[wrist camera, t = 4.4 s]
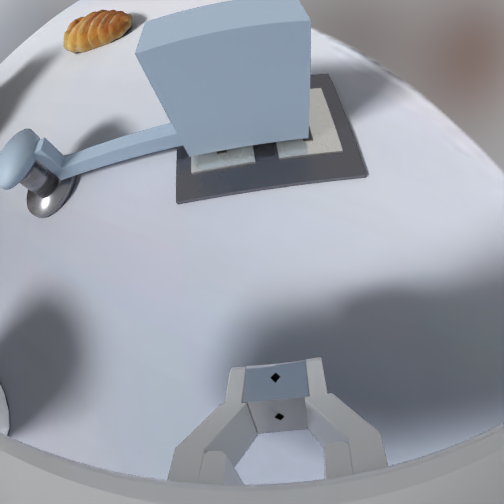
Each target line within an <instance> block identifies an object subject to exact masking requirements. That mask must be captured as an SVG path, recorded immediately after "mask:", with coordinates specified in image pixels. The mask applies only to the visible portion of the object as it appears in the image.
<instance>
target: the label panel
mask: <svg viewBox="0 0 504 504" xmlns="http://www.w3.org/2000/svg"><path fill="white" fill-rule="evenodd" d="M365 177H366V173H365V170H364V166H363V163H362V160H361V157H360V154H359V151H358V148H357V146H356V143H355V140H354V137H353V134H352V131H351V129H350V126H349V123H348V121H347V118H346V115H345V113H344V110H343V108H342V105H341V103H340V100H339V98H338V95H337V93H336V91H335V88H334V86H333V83H332V81H331V79H330V77H329V74H320V75H310V109H309V135H308V138H303V139H295V140H287V141H279V142H272V143H265V144H258V145H252V146H245V147H239V148H233V149H228V150H222V151H217V152H211V153H206V154H201V155H196V156H191V157H189V155H188V153H187V152H186V150H185V148H184V146H183V145H182V146H178V147H177V167H176V203H177V204H182V203H188V202H193V201H199V200H204V199H210V198H216V197H222V196H228V195H234V194H240V193H247V192H253V191H260V190H266V189H273V188H280V187H288V186H295V185H303V184H311V183H319V182H328V181H336V180H346V179H355V178H365Z"/></svg>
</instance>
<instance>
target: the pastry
mask: <svg viewBox="0 0 504 504" xmlns="http://www.w3.org/2000/svg"><path fill="white" fill-rule="evenodd" d="M131 26H132V17H131V15H129V14H126V13H124V12H123V11H115V10H111V11H107V10H100V11H98V12H92V13H90V14H88V15H87V16H86V17H80V18H78V19H76V20H74V21H73V22H72V23H70V25H69V26H68V28H67V31H66V32H65V35H64V47H65V49H66V50H68V51H71V52H73V53H76V52H81V53H82V52H86V51H89V50H91V49H95V48H98V47H101V46H104V45H106V44H109V43H111V42H112V41H114V40H116V39H118V38H121V37H122V36H123V35H124V34H125V33H126V31H127V30H128V29H129V28H130V27H131Z"/></svg>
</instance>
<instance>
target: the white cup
mask: <svg viewBox="0 0 504 504" xmlns="http://www.w3.org/2000/svg"><path fill="white" fill-rule="evenodd" d="M9 428H10V425H9V410H8V406H7V402H6V398H5V394H4V391H3V389H2V387H1V385H0V433H3V434H5V435H7V434H8V431H9Z"/></svg>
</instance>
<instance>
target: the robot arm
mask: <svg viewBox="0 0 504 504" xmlns="http://www.w3.org/2000/svg"><path fill="white" fill-rule="evenodd" d="M306 368H307V369H306ZM307 377H308V378H307ZM302 429H308V430H309V431H310V432H311V433H312V435H313V436H314V437H315V438H316V439H317V440H318V441H319V443H320V444H321V445H322V446H323V447H324V471H325V479H321V480H313V481H304V482H293V483H280V484H260V485H244V483H243V481H242V480H241V478H240V477H239V475H238V473H237V472H236V470H235V468H234V467H235V466H236V465H237V463H238V462H239V461H240V459H241V458H242V457H243V455H244V454H245V452H246V451H247V450H248V448H249V447H250V446H251V444H252V443H253V441H254V440H255V438H256V437H257V436H258V434H259V433H270V432H280V431H291V430H302ZM0 504H504V423H502V424H500V425H498V426H496V427H494V428H492V429H490V430H488V431H486V432H483V433H481V434H479V435H477V436H475V437H472V438H470V439H468V440H465V441H463V442H461V443H458V444H456V445H453V446H451V447H448V448H445V449H443V450H440V451H437V452H434V453H431V454H429V455H426V456H422V457H419V458H416V459H413V460H410V461H406V462H403V463H399V464H396V465H392V466H388V464H387V459H386V455H385V451H384V447H383V443H382V439H381V435H380V432H379V431H378V430H376V429H375V428H374V427H373V426H371V425H370V424H369V423H368V422H366V421H365V420H364V419H363V418H362V417H360V416H359V415H358V414H357V413H355V412H354V411H353V410H352V409H351V408H349V407H348V406H347V405H346V404H345V403H343V402H342V401H341V400H340V399H339V398H337V397H336V396H335V395H334V394H333V393H329V394H328V393H327V387H326V381H325V375H324V369H323V363H322V359H321V357H317V358H311V359H306V361H305V360H298V361H291V362H284V363H276V364H267V365H254V366H245V367H232V368H231V370H230V373H229V380H228V386H227V393H226V399H225V404H220V405H219V406H218V407H217V408H216V409H215V410H214V411H213V412H212V413H211V414H210V415H209V416H208V417H207V418H206V419H205V420H204V421H203V422H202V423H201V424H200V425H199V426H198V427H197V428H196V429H195V430H194V431H193V432H192V433H191V434H190V435H189V436H188V437H187V438H186V439H184V440H183V441H182V442H181V443H180V444H179V445H178V446H177V447H176V448H175V451H174V455H173V459H172V463H171V467H170V471H169V475H168V479H167V480H161V479H154V478H147V477H141V476H136V475H130V474H125V473H120V472H115V471H111V470H107V469H102V468H98V467H94V466H91V465H87V464H83V463H80V462H76V461H73V460H70V459H66V458H63V457H60V456H57V455H54V454H51V453H49V452H46V451H43V450H40V449H38V448H35V447H32V446H30V445H28V444H25V443H23V442H20V441H18V440H16V439H13V438H11V437H9V436H7V435H5V434H3V433H0Z"/></svg>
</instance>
